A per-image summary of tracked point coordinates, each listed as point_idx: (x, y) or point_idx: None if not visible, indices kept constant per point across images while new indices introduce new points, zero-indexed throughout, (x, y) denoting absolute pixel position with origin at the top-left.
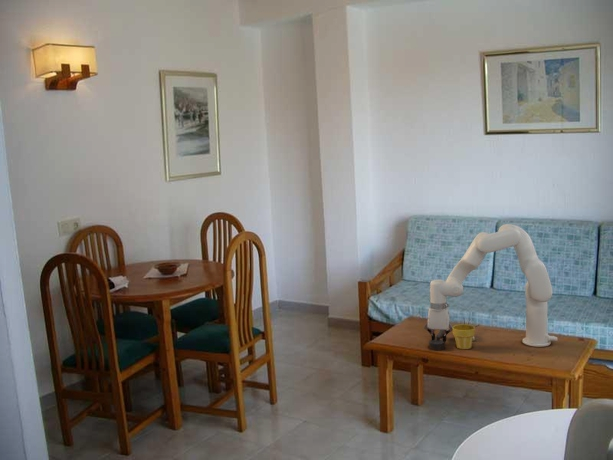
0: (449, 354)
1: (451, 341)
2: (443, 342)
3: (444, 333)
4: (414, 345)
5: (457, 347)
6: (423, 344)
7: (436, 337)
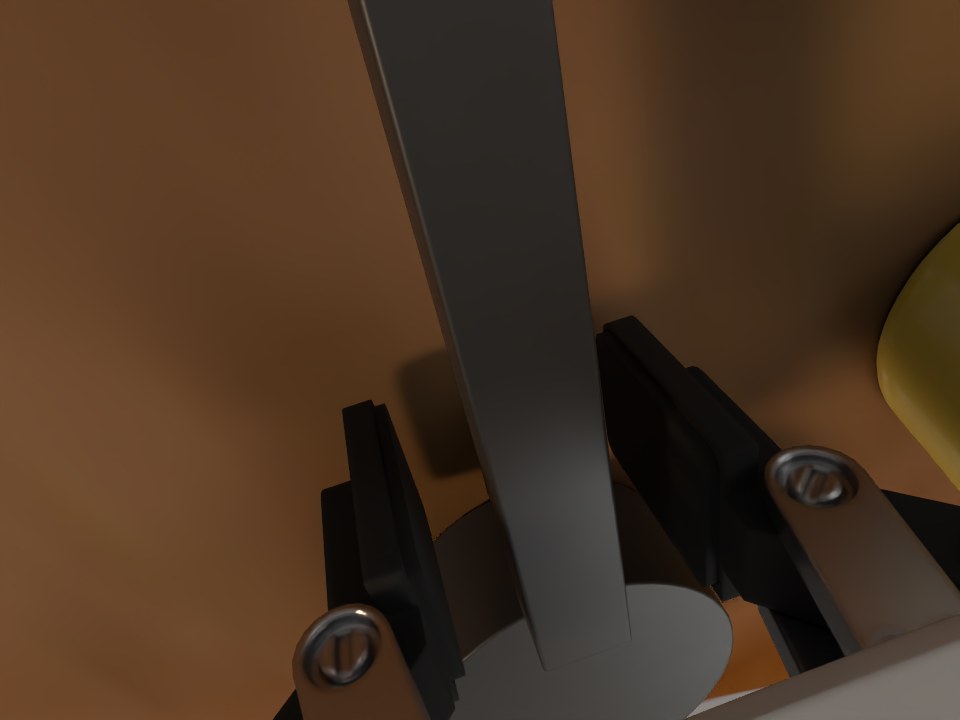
0: (774, 652)
1: (733, 36)
2: (721, 651)
3: (821, 649)
4: (72, 708)
5: (886, 401)
6: (193, 583)
7: (546, 662)
